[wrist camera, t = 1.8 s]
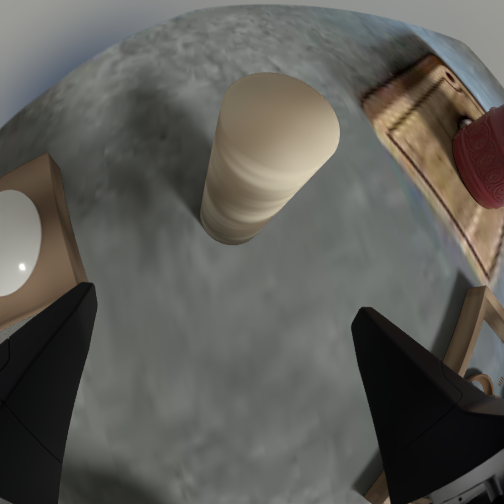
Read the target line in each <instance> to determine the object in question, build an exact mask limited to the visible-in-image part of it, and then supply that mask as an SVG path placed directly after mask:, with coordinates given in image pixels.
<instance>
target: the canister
mask: <svg viewBox="0 0 504 504" xmlns="http://www.w3.org/2000/svg"><path fill="white" fill-rule="evenodd" d="M453 154H454V158H455V162H456V165H457V168H458V170H459V173H460V175H461V177H462V180H463V181H464V183H465V185H466V187H467V189H468V190H469V192H470V193H471V195H472V196H473V197H474V199H475V200H476V201H477V202H478V203H479V204H480V205H481V206H483V207H484V208H486V209H498V208H500V207H503V206H504V104H503V105H501V106H500V107H498V108H497V107H492V108H490V110H489V111H488V112H487V113H485V114H484V115H482V116H481V117H479V118H478V119H477V120H475V121H474V122H472V123H471V124H469V125H466V126H464V127H463V128H461V129H460V130H459V131H458V133H457V134H456V135H455V136H454V138H453Z"/></svg>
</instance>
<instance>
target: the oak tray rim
mask: <svg viewBox="0 0 504 504" xmlns="http://www.w3.org/2000/svg"><path fill="white" fill-rule="evenodd" d="M483 318H484V319H485V320H486V322H487V323H488V324H489V325H490V326H491V328H492V329H493V330H494V331H495V333H496V334H497V335H498V336H499V338H500V339H501V340H502V341H503V343H504V309H503V307H502V306H501V304H500V303H499V302H498V300H497V299H496V298H495V296H494V295H493V294H492V292H491V291H490V290H489V288H488V287H487V286H481V287H474V288H468V290H467V293H466V297H465V300H464V303H463V307H462V310H461V313H460V316H459V319H458V322H457V325H456V328H455V331H454V334H453V337H452V339H451V342H450V345H449V347H448V350H447V352H446V355H445V357H444V360H443V363H444V364H446V365H447V366H448V367H449V368H451V369H452V370H453V371H455V372H456V373H457V374H459V375H460V376H461V377H464V374H465V372H466V369H467V367H468V364H469V362H470V359H471V356H472V353H473V350H474V347H475V344H476V341H477V338H478V335H479V332H480V329H481V325H482V322H483ZM364 498H365V499H367V500H368V501H369V502H370V503H372V504H390V498H389V492H388V487H387V482H386V477H385V472H384V470H383V472H382V473H381V474H380V476H379V477H378V479H377V480H376V481H375V483H374V484H373V485H372V487H371V488H370V489H369V491H368V492H367V493H366V494H365V496H364ZM430 502H431V499H428V498H420V499H418V500H416V501H413V502H411V503H409V504H428V503H430Z"/></svg>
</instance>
